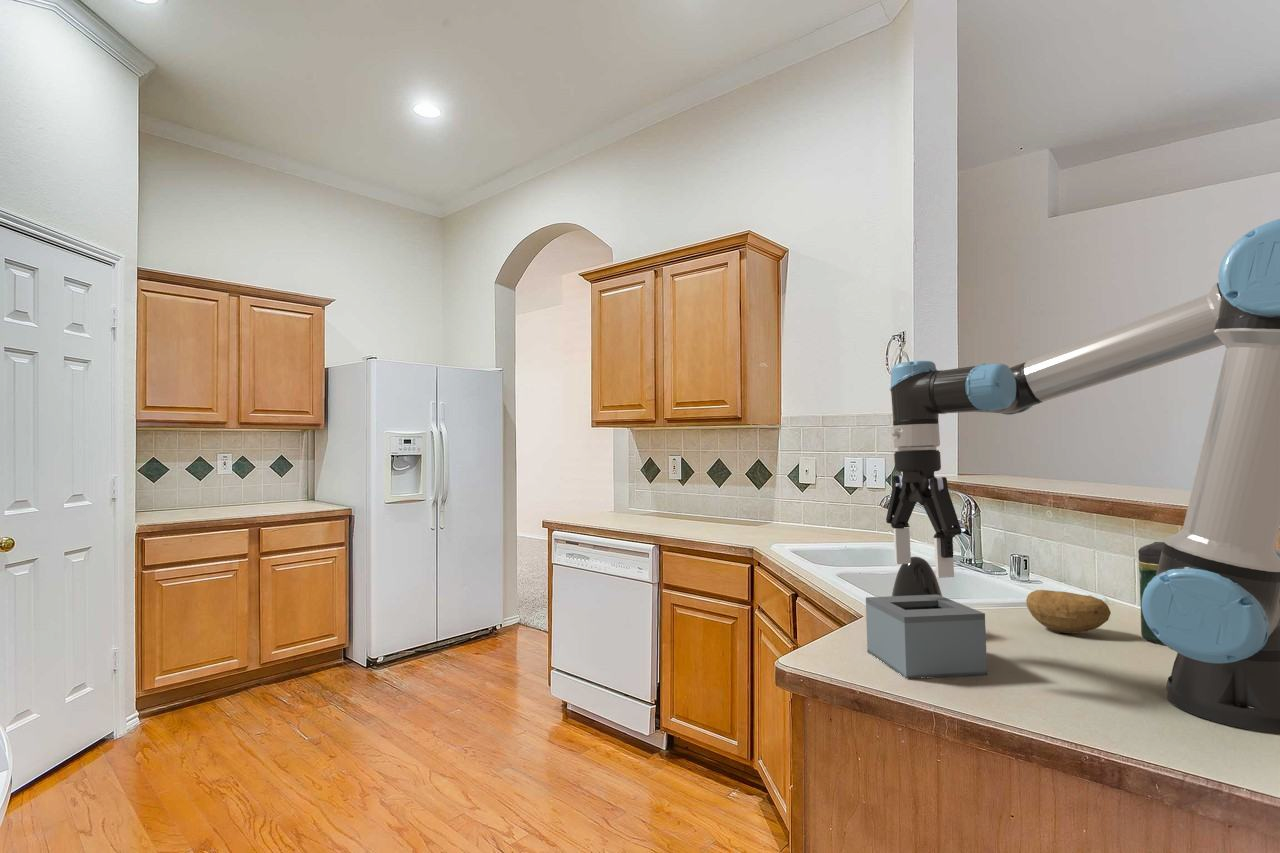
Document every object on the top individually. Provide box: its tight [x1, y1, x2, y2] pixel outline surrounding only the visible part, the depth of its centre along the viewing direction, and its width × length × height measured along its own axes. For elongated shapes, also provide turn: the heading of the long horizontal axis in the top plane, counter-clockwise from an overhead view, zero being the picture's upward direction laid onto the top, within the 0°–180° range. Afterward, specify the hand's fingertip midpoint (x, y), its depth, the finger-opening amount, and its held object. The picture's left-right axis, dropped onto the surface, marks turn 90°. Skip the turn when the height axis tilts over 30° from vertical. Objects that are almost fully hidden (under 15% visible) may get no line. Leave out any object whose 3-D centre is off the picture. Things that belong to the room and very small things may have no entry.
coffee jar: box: [1137, 541, 1166, 646], centre depth 121 cm, size 10×8×19 cm
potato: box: [1025, 589, 1112, 634], centre depth 127 cm, size 10×14×8 cm
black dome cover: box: [891, 556, 943, 597], centre depth 129 cm, size 10×10×15 cm
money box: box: [865, 594, 988, 679], centre depth 111 cm, size 14×14×10 cm
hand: (922, 570), depth 111 cm, fingers open, 13 cm apart
